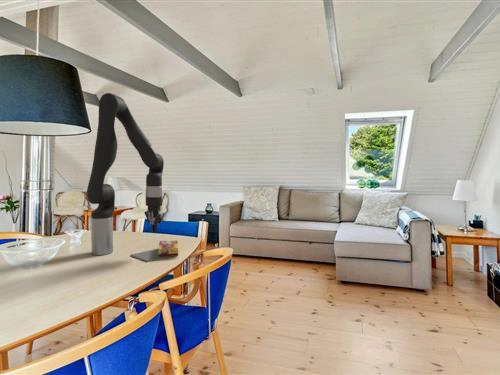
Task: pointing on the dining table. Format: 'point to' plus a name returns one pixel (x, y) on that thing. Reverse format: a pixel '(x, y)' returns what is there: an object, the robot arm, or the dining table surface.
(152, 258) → the rubber mat
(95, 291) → the dining table surface
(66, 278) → the dining table surface
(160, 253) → the candy box
